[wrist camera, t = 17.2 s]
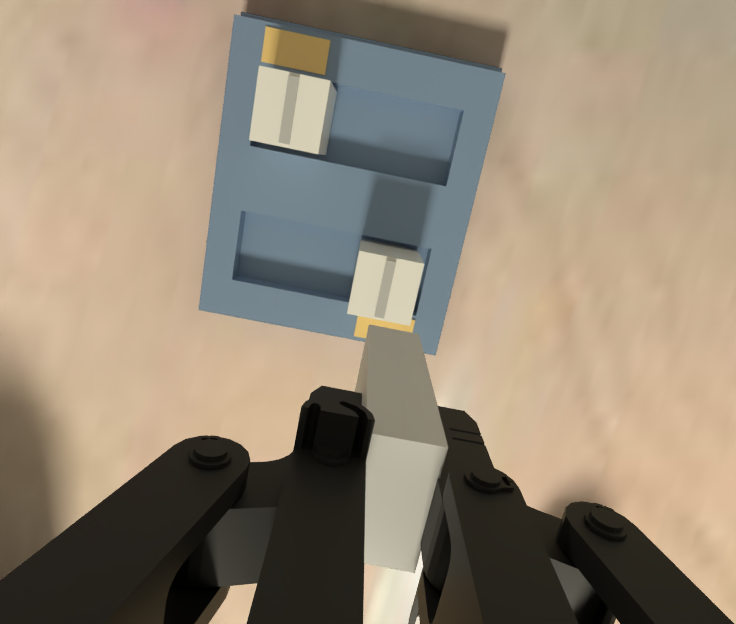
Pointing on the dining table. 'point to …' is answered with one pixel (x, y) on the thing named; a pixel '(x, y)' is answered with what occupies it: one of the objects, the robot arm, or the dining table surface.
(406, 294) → the tab
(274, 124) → the tab
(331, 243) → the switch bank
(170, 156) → the dining table surface
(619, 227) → the dining table surface
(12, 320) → the dining table surface
